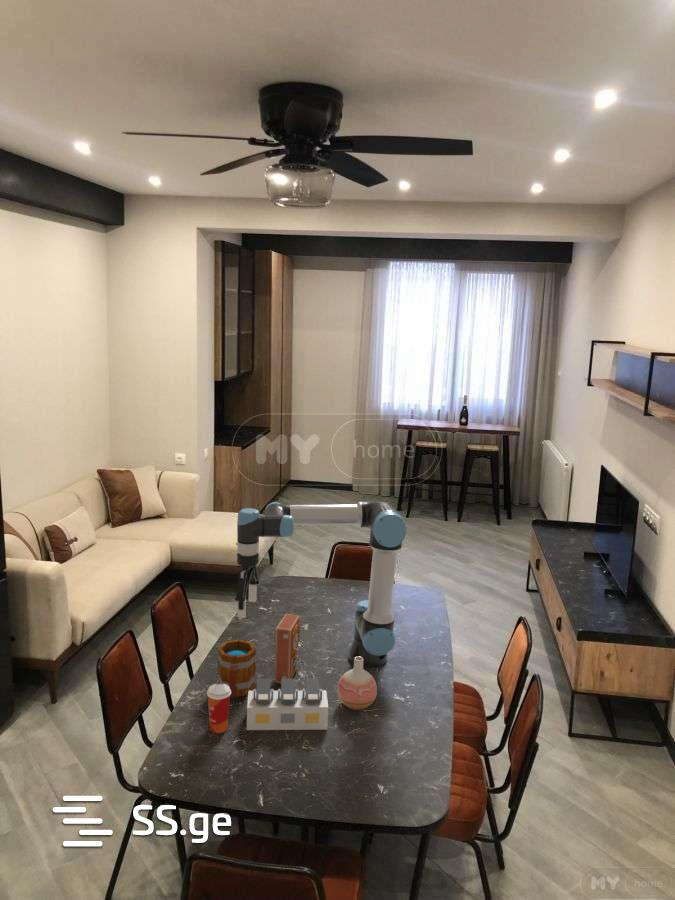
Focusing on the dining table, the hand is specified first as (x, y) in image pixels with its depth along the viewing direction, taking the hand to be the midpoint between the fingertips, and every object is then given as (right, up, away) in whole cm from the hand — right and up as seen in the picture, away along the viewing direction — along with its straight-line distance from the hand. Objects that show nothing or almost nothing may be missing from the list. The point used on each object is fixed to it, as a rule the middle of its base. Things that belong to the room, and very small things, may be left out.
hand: (247, 609), depth 251 cm
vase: (+39, -32, -7) cm, 51 cm away
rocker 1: (+8, -22, -21) cm, 31 cm away
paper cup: (-6, -33, -24) cm, 41 cm away
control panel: (+13, -27, +10) cm, 32 cm away
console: (+16, -33, -18) cm, 41 cm away
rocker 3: (+24, -22, -20) cm, 38 cm away
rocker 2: (+16, -22, -20) cm, 34 cm away
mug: (-4, -29, -2) cm, 29 cm away
